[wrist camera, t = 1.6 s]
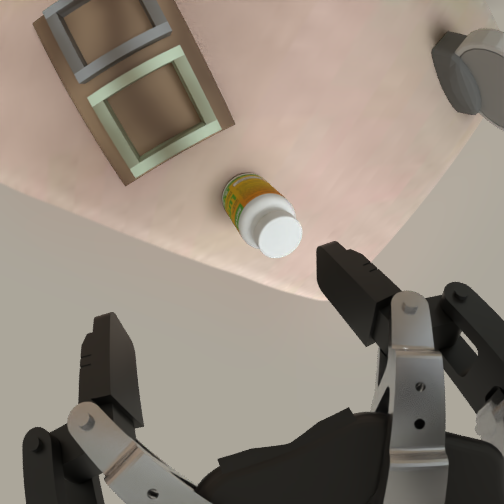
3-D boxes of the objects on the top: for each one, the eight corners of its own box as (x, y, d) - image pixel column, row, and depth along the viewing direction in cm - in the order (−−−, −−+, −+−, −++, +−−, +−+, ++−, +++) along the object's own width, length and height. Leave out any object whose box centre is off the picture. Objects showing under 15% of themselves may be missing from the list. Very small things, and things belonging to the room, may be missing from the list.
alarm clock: (480, 93, 35) (564, 125, 20) (457, 126, 37) (548, 167, 22) (447, 16, 25) (550, 32, 11) (420, 45, 28) (538, 67, 13)
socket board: (149, -39, 15) (150, -54, 12) (232, 122, 27) (243, 127, 24) (36, 25, 15) (22, 19, 12) (126, 182, 27) (123, 195, 24)
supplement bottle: (216, 180, 30) (244, 220, 22) (264, 166, 31) (307, 200, 23) (227, 224, 33) (256, 274, 26) (271, 209, 34) (311, 253, 27)
